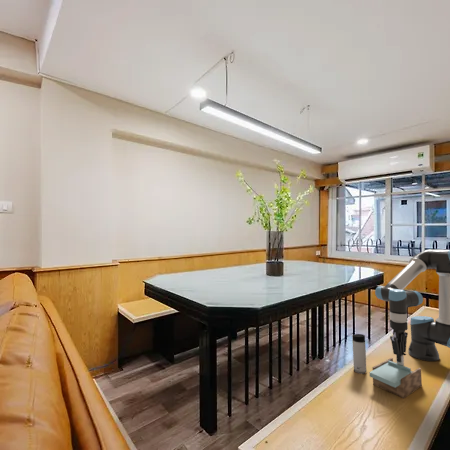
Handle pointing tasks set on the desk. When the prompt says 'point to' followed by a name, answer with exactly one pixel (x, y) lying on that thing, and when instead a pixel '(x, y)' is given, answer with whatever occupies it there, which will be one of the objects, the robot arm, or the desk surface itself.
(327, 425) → the desk surface
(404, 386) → the box
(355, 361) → the travel mug
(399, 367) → the cover plate
